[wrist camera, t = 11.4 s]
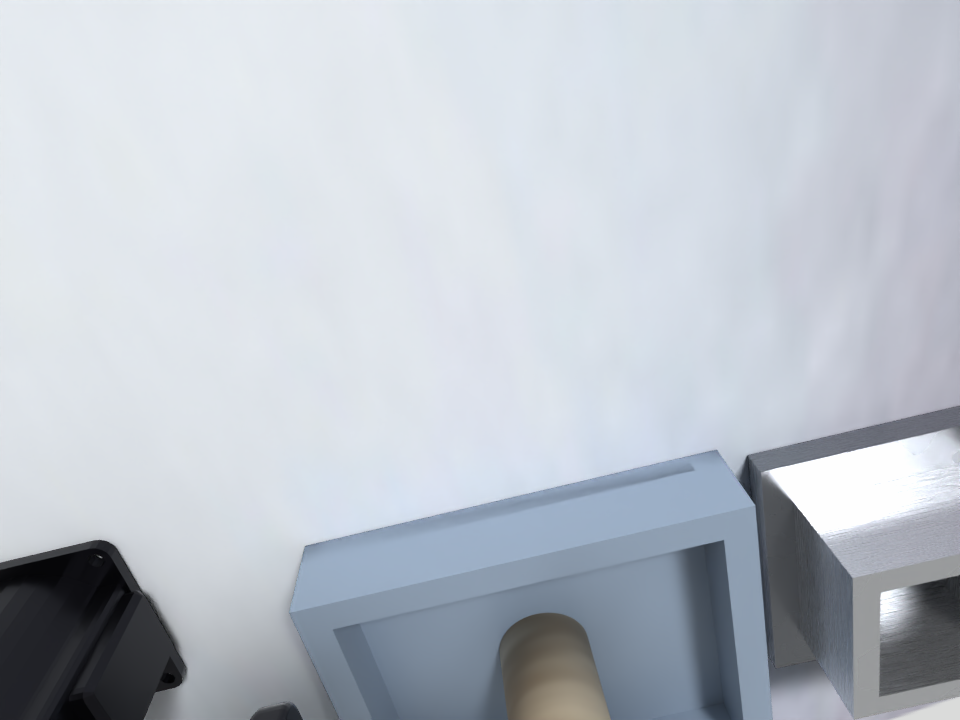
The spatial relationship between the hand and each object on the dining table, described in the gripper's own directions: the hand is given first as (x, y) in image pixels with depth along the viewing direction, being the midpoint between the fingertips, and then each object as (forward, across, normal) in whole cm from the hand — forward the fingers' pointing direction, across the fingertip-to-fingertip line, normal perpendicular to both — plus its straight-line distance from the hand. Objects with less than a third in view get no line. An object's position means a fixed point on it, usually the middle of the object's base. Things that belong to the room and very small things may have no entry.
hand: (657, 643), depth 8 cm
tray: (+13, +2, +13) cm, 18 cm away
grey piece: (+13, -12, +12) cm, 22 cm away
